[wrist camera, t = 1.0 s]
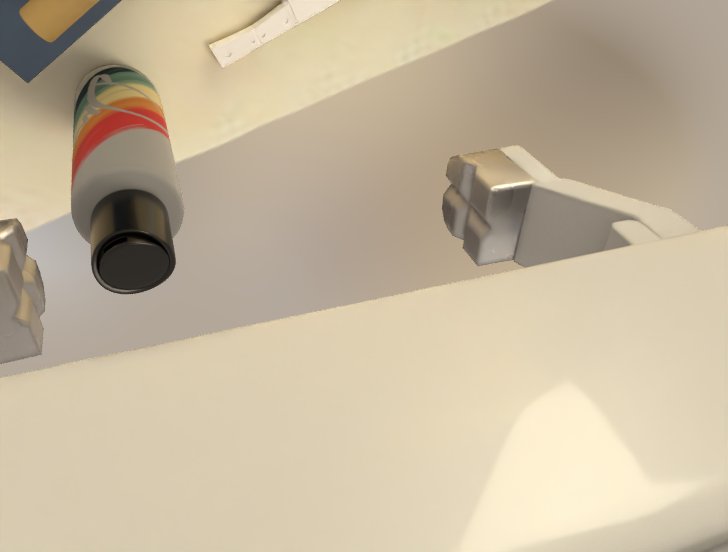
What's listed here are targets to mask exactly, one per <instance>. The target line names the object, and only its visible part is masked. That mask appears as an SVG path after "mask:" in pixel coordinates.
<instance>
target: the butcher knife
mask: <svg viewBox="0 0 728 552" xmlns="http://www.w3.org/2000/svg"><path fill="white" fill-rule="evenodd" d="M337 1H339V0H283V1H282V3H281V4H279V5H278V6H277V7H276V8H274V9H273V10H272V11H270V12H269V13H268V14H266V15H265V16H264V17H262V18H261V19H260V20H258V21H257V22H255V23H254V24H253V25H251V26H249V27H247V28H245V29H243V30H241V31H239V32H237V33H235V34H232V35H230V36H228V37H226V38H223V39H221V40H219V41H216V42H214V43H212V44H209V47H210V49H211V51H212V52H213V54H214V55H215V57H216V59H217V60H218V62H219V63H220V65H221V67H222V68H225V67H226V66H228V65H230V64H231V63H233V62H235V61H237V60H238V59H240V58H242V57H243V56H245V55H247V54H248V53H250V52H252V51H253V50H255V49H257V48H259V47H260V46H262V45H264V44H265V43H267V42H269V41H270V40H272V39H274V38H276V37H277V36H279V35H281V34H282V33H284V32H286V31H288V30H289V29H291V28H293V27H295V25H296V26H297V24H298V25H299V24H300V23H302V22H304V21H306V19H307V20H308V19H309V18H311V16H312V17H313V15H314V16H315V15H316V14H318V12H319V13H320V11H321V12H322V10H323V9H324V10H325V8H326V9H327V7H328V6H330V5H331V6H332V4H333V5H334V3H335V2H337ZM340 1H341V0H340ZM337 3H338V2H337ZM335 4H336V3H335ZM331 6H330V7H331ZM328 8H329V7H328ZM324 10H323V11H324Z"/></svg>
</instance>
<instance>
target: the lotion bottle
mask: <svg viewBox="0 0 728 552" xmlns="http://www.w3.org/2000/svg"><path fill="white" fill-rule="evenodd" d="M71 211H72V218H73V221H74V224H75V226H76V228H77V230H78V232H79V233H80V234H81V236H82V237H83V238H84V239H85V240H86V241H87V242H88V243H89V244H91V265H92V271H93V274H94V277H95V278H96V280H97V281H98V283H99V284H100V285H101V286H102V287H104V288H105V289H107V290H109V291H111V292H114V293H119V294H135V293H140V292H144V291H147V290H150V289H152V288H154V287H156V286H158V285H159V284H161V283H163V282H164V281H165V280H166V279H167V278H168V277H169V276H170V275H171V274H172V272H173V270H174V268H175V264H176V258H175V252H174V246H173V239H172V238H174V236H175V235H176V234H177V233H178V231H179V229H180V227H181V224H182V221H183V215H184V205H183V199H182V194H181V189H180V184H179V180H178V176H177V171H176V167H175V162H174V157H173V153H172V149H171V144H170V140H169V135H168V131H167V126H166V122H165V117H164V113H163V109H162V105H161V101H160V98H159V95H158V93H157V91H156V89H155V87H154V86H153V84H152V83H151V82H150V81H149V80H148V79H147V78H146V77H145V76H144V75H143V74H141V73H140V72H138V71H136V70H134V69H132V68H129V67H126V66H121V65H107V66H102V67H99V68H97V69H95V70H93V71H91V72H90V73H88V74H87V75H86V76H85V77H84V78H83V79H82V81H81V82H80V84H79V86H78V88H77V92H76V96H75V105H74V130H73V158H72V186H71Z"/></svg>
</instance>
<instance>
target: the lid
mask: <svg viewBox="0 0 728 552" xmlns="http://www.w3.org/2000/svg"><path fill="white" fill-rule="evenodd" d="M120 1H121V0H0V60H1V61H2V62H3V63H4V64H5V65H7V66H8V67H9V68H10V69H11V70H13V71H14V72H15V73H16V74H17V75H19V76H20V77H21V78H22V79H23V80H24V81H26V82H27V83H29V82H30V81H31V80H32V79H33V78H34V77H36V76H37V75H38V74H39V73H40V72H41V71H42V70H43V69H45V68H46V67H47V66H48V65H49V64H50V63H51V62H52V61H54V60H55V59H56V58H57V57H58V56H59V55H60V54H62V53H63V52H64V51H65V50H66V49H67V48H68V47H69V46H71V45H72V44H73V43H74V42H75V41H76V40H77V39H78V38H80V37H81V36H82V35H83V34H84V33H85V32H86V31H88V30H89V29H90V28H91V27H92V26H93V25H94V24H95V23H97V22H98V21H99V20H100V19H101V18H102V17H103V16H104V15H106V14H107V13H108V12H109V11H110V10H111V9H112V8H114V7H115V6H116V5H117V4H118V3H119V2H120Z"/></svg>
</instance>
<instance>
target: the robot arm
mask: <svg viewBox="0 0 728 552" xmlns="http://www.w3.org/2000/svg"><path fill="white" fill-rule="evenodd" d="M446 176H447V178H448V179H449V181H450V182H451V185H450V186H449V188H448V189H447V190H446V192H445V193H444V196H443V205H442V210H443V217H444V221H445V224H446V226H447V228H448V230H449V231H450V232H451V234H452V235H453V236H455V237H457V238H460V239H462V240H464V244H463V249H464V250H465V251H466V252H467V254H468V255H469V256H470V257H471V258H472V260H473V261H474V262H475V263H476V265H477V266H480V265H487V264H492V263H498V262H503V261H509V260H514V262H516V263H518V264H519V265H521V266H523V267H525V268H521V269H516V270H511V271H506V272H502V273H497V274H492V275H487V276H483V277H478V278H473V279H468V280H464V281H459V282H454V283H449V284H445V285H440V286H435V287H431V288H426V289H421V290H416V291H411V292H406V293H401V294H397V295H392V296H387V297H383V298H378V299H373V300H368V301H363V302H358V303H354V304H349V305H344V306H339V307H335V308H330V309H325V310H320V311H315V312H311V313H306V314H302V315H296V316H292V317H287V318H282V319H277V320H273V321H268V322H263V323H258V324H253V325H249V326H244V327H239V328H234V329H229V330H225V331H220V332H215V333H210V334H206V335H201V336H196V337H191V338H186V339H182V340H177V341H172V342H167V343H163V344H158V345H153V346H149V347H143V348H139V349H134V350H129V351H125V352H120V353H115V354H110V355H105V356H100V357H96V358H91V359H86V360H82V361H76V362H72V363H67V364H62V365H57V366H53V367H48V368H43V369H38V370H33V371H29V372H24V373H19V374H14V375H10V376H5V377H0V552H728V225H727V226H722V227H717V228H712V229H708V230H703V231H700V230H699V229H697V228H696V227H695V226H693V225H692V224H690V223H689V222H688V221H686V220H685V219H684V218H682V217H681V216H680V215H678V214H677V213H676V212H674V211H673V210H670V209H667V208H663V207H660V206H657V205H654V204H650V203H647V202H644V201H640V200H637V199H634V198H630V197H627V196H624V195H620V194H617V193H614V192H610V191H606V190H604V189H600V188H597V187H593V186H590V185H587V184H584V183H580V182H577V181H574V180H570V179H567V178H565V179H559V178H558V177H557V176H556V175H554V174H553V173H552V172H551V171H549V170H548V169H547V168H546V167H545V166H543V165H542V164H541V163H540V162H539V161H538V160H536V159H535V158H534V157H533V156H532V155H530V154H529V153H528V152H527V151H525V150H524V149H523V148H522V147H520V146H515V145H514V146H509V147H504V148H499V149H492V150H487V151H481V152H475V153H469V154H463V155H457V156H453V157H451V158H450V161H449V163H448V166H447V173H446ZM27 242H28V239H27V237H26V234H25V232H24V229H23V227H22V225H21V223H20V222H19V221H18V219H17V218H15V219H8V220H0V364H2V363H7V362H11V361H15V360H20V359H24V358H28V357H33V356H38V355H41V354H42V342H43V326H42V323H41V321H40V318H39V317H40V315H42V314H43V313H44V311H45V294H44V286H43V282H42V278H41V274H40V271H39V268H38V266H37V263H36V261H35V260H34V259H32V258H31V257H29V256H28V255H26V252H27Z"/></svg>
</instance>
